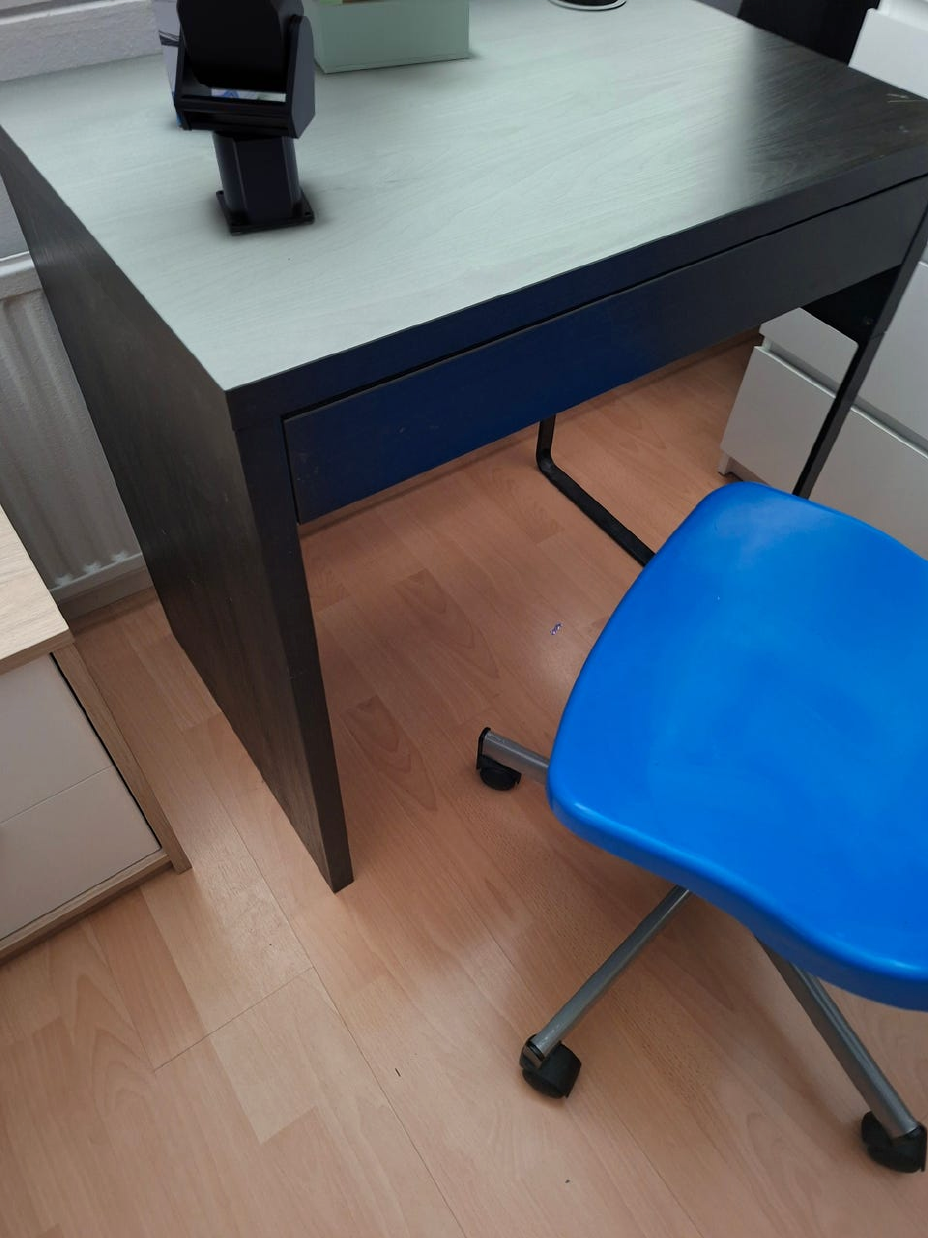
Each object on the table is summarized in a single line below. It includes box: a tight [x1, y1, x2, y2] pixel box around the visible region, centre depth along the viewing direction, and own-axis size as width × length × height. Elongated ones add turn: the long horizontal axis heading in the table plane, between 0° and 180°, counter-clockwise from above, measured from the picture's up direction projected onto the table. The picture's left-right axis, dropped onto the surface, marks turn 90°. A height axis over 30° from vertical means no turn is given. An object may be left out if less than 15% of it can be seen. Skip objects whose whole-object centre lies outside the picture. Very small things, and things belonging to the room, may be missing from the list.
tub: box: [301, 0, 470, 74], centre depth 88 cm, size 15×15×6 cm
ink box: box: [150, 0, 260, 126], centre depth 73 cm, size 8×5×12 cm, turn 168°
